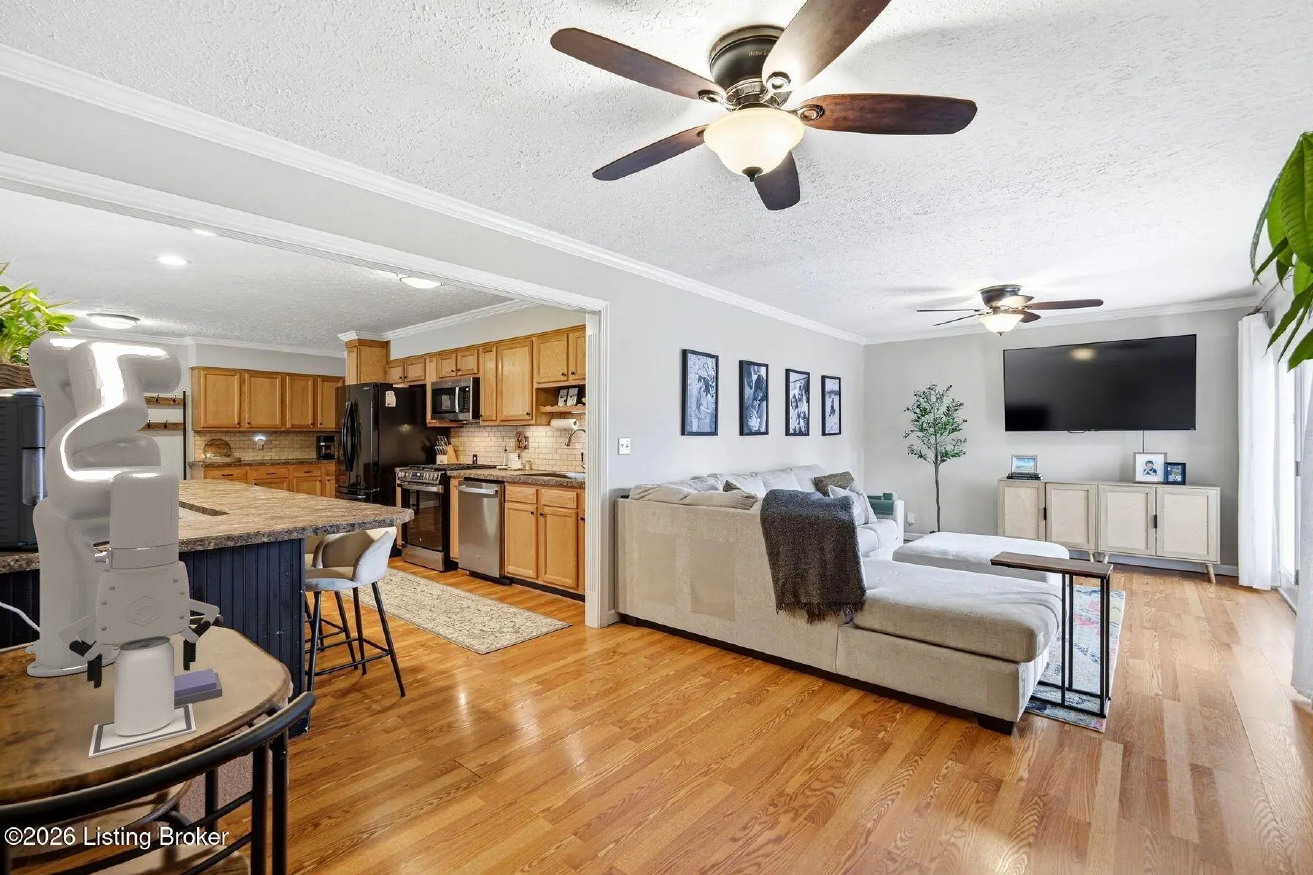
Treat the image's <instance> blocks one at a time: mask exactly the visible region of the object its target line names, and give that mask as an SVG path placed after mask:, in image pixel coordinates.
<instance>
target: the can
mask: <svg viewBox="0 0 1313 875" xmlns="http://www.w3.org/2000/svg"><path fill="white" fill-rule="evenodd" d="M119 649H120V651H119V653H118V654H117V656H116V658H115V662H114V721H115V733H117V734H118V735H120V736H124V737H132V736H139V735H144V734H148V733H151V732H154V731H157V730H160V729H162V728H164V727H166V726H167V725H169V724H170V723H171V721H172V720H173V718H174V676H175V648H174V645H173V644H172V643H171V637H170V636H165V637H159V638H153V639H147V640H141V641H135V642H128V643H122V644H120V646H119Z"/></svg>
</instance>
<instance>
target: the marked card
mask: <svg viewBox="0 0 1313 875" xmlns="http://www.w3.org/2000/svg"><path fill="white" fill-rule="evenodd" d="M92 731H93V732H92V735H91V736H92V737H91V741H90V748H89V752H88V759H93V758H97V757H101V756H104V755H108V754H111V753H112V754H113V753H116V752H120V751H125V750H129V749H132V748H136V747H141V746H144V745H149V744H152V743H157V742H160V741H164V740H168V739H172V738H176V737H181V736H185V735H188V734H191V733H196V732H197V731H196V723H195V717H194V711H193V703H189V704H185V705H180V706H176V707H174V718H173V720H172V721H171V723H170V724H169V725H167V726H166V727H164V728H162V729H160V730H157V731H154V732H151V733H148V734H144V735H139V736H132V737H124V736H120V735H118V734H117V733H115V720H112V721H108V722H103V723H98V724H94V727H93V730H92Z"/></svg>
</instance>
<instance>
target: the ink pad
mask: <svg viewBox="0 0 1313 875" xmlns="http://www.w3.org/2000/svg"><path fill="white" fill-rule="evenodd" d="M220 679H221V678H220V676H219V673H218V671H216V672H214V669H213V668H208V669H203V670H197V671H193V672H188V673H184V674H179V675H174V707H178V706H182V705H187V704H191V703H192V704H193V703H198V702H203V701H206V700H210V699H216V698H220V697H223V687H222V684H221V680H220ZM197 701H198V702H197Z"/></svg>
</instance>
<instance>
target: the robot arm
mask: <svg viewBox="0 0 1313 875" xmlns="http://www.w3.org/2000/svg"><path fill="white" fill-rule="evenodd" d="M27 355H28V356H27V361H28V368H29V371H30V375H31V378H32V380H33V382H34V385H35V387H36V388H37V391H38V392H39V396H40V397H41V400H42V402H43V406H44V411H45V428H44V429H45V438H44V439H45V442H44V444H45V447H44V448H45V451H44V452H45V454H44V461H43V462H44V463H43V470H44V478H45V484H46V485H45V486H46V492H47V496H46V497H44V498H43V499H41V500H40V501H39V502H37V504H35V506H34V508H33V512H32V524H33V528H34V532H35V536H36V542H37V548H38V549H37V550H38V554H39V557H38V558H39V639H37V640H35V642H34V643H33V644H32V645H28V646H27V647H26V648H25V651H24V652H25V654H27V655H28V654H32V655H34V654H35V660H34V661H33V662H31V663H30V664H29V665H27V669H26V670H27V671H26V672H27V675H29V676H32V677H38V678H39V677H43V678H45V677H57V676H65V675H73V674H77V673H81V672H86V674H87V675H86V682H87V683H90V682H93V690H95V689H100V687H102V683H103V667H105V666H107V665H109V664H112V663H115V658H116V656H117V654H118V653H119V651H120V649H119V647H118V646H114V645H119V644H120V645H122V644H124V643H128V642H135V641H141V640H147V639H153V638H159V637H170V636H175V635H178V634H179V635H180V636H181V637H183V638H184V639H183V642H182V644H183V645H182V649H183V650H182V656H183V657H182V667H183V671H185V672H188V671H191V664H192V663H196V661H197V642H198V641H199V638H201V637H202V636H203V635H205V633H206V632H207V631H208V630H210V629H211V627H212V624H213V622H215V620H216V618H217V617H218V615H219V613H220V608H219V606H217V605H213V604H210V603H206V602H203V601H200V600H199V601H198V600H195V599H192V598H190V584H189V577H188V572H187V571H188V570H187V567H186V564H185V562H184V561H181V560H179V550H180V549H179V544H180V542H179V541H180V539H179V538H180V537H179V536H180V534H179V533H180V532H179V531H180V530H179V528H180V525H179V524H180V480H179V477H178V475H177V474H176V473H175V472H173V471H170V470H169V469H168V468H166V467H165V466H164V467H163V466H162V457H161V456H162V454H161V451H160V447H159V445H158V442H157V441H156V440H155V438H153V437H152V436H151V435H148V434H145V433H137V432H138V431H140V430H141V429H142V428H144V427H145V425H146V424H147V423H148V420H149V415H150V414H149V410H148V406H147V403H146V398H145V395H144V393H145V394H147V393H148V394H170V393H171V394H172V393H173V392H175V391H176V390H177V389H178V388H179V386H180V385H181V380H182V366H181V363H180V360H179V358H178V356H177V354H176V353H175V352H174V351H173V350H172V349H170V348H169V347H167V346H163V345H156V344H150V343H143V342H134V341H126V340H125V341H124V340H116V339H114V340H113V339H104V338H99V337H98V338H96V337H89V336H88V337H87V336H76V335H45V336H41V337H38V338H36V339H34V340H33V341H32V342H31V343H30V346H28V353H27ZM102 542H109V549H106V550H103V551H102V552H100V551H99V550H98V549H97V548H95V546H94V544H97V543H102ZM191 611H193V612H198V613H201V614H204V616H203V619H202V620H201V621H199V622H198V624H197V625H195V626H194V627H192V626H191V625H190V621H191V620H190V619H191Z"/></svg>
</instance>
